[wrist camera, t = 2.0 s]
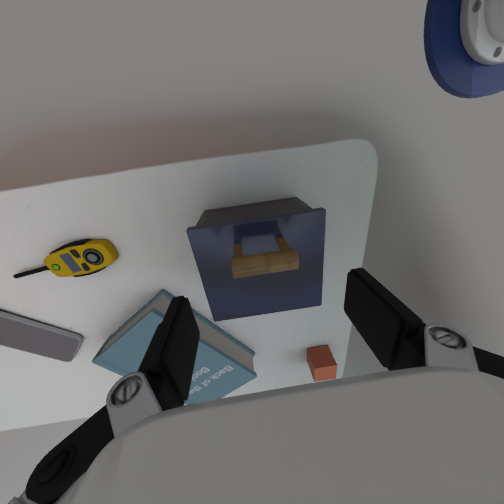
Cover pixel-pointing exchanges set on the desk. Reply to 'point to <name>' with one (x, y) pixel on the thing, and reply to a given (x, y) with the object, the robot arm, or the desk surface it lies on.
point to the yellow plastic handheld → (78, 258)
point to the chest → (252, 210)
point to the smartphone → (38, 338)
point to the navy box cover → (261, 263)
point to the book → (207, 358)
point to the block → (321, 363)
